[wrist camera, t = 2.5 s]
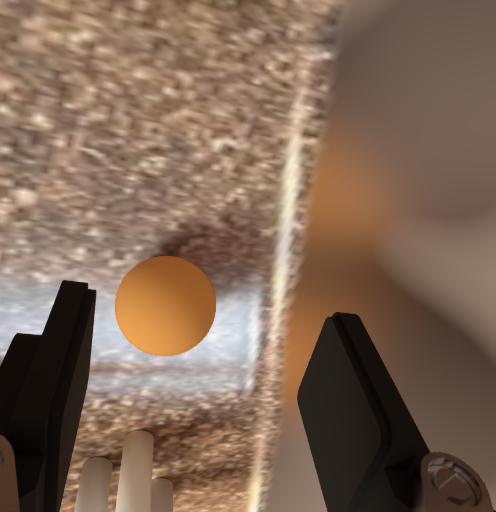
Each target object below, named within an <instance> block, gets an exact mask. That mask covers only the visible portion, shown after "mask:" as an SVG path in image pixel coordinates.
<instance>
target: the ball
mask: <svg viewBox="0 0 496 512" xmlns="http://www.w3.org/2000/svg"><path fill="white" fill-rule="evenodd" d="M215 312H216V298H215V293H214V290H213V287H212V285H211V283H210V281H209V279H208V277H207V276H206V275H205V274H204V272H203V271H202V270H201V269H200V268H198V267H197V266H196V265H194V264H193V263H191V262H189V261H187V260H185V259H182V258H179V257H174V256H159V257H154V258H150V259H148V260H145V261H143V262H141V263H139V264H138V265H136V266H135V267H134V268H133V269H132V270H131V271H130V272H128V273H127V275H126V276H125V277H124V279H123V280H122V282H121V284H120V286H119V288H118V291H117V294H116V299H115V314H116V320H117V323H118V326H119V328H120V330H121V332H122V333H123V335H124V336H125V338H126V339H127V340H128V341H129V342H130V343H131V344H132V345H134V346H135V347H136V348H138V349H139V350H141V351H143V352H145V353H148V354H152V355H156V356H173V355H177V354H181V353H184V352H186V351H188V350H190V349H192V348H193V347H195V346H196V345H197V344H198V343H200V342H201V341H202V340H203V338H204V337H205V336H206V335H207V333H208V332H209V330H210V328H211V326H212V324H213V321H214V318H215Z"/></svg>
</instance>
